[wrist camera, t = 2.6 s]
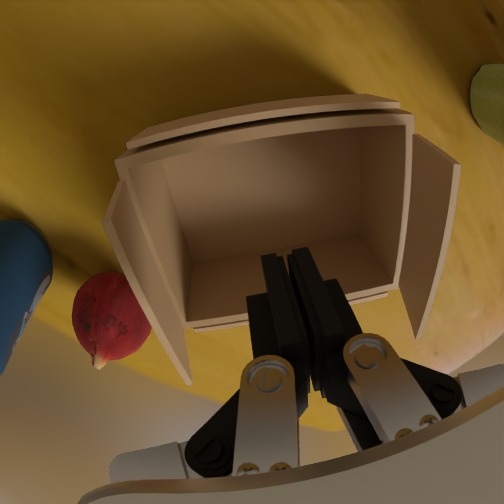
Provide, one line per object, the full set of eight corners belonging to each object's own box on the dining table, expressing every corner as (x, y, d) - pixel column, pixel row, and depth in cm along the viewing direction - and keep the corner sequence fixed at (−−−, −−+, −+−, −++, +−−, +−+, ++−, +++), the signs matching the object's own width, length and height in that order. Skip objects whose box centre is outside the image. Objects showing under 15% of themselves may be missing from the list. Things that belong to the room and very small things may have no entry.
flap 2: (415, 339, 12) (420, 338, 12) (454, 164, 8) (460, 164, 8) (398, 284, 15) (402, 284, 15) (412, 133, 11) (418, 133, 11)
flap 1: (111, 219, 8) (101, 222, 8) (193, 384, 12) (187, 385, 12) (124, 179, 11) (118, 181, 11) (182, 324, 16) (177, 326, 16)
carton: (360, 90, 15) (414, 102, 10) (363, 242, 22) (397, 294, 17) (145, 123, 16) (110, 148, 11) (191, 273, 22) (183, 335, 17)
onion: (79, 258, 20) (36, 335, 14) (143, 243, 20) (111, 328, 14) (110, 312, 24) (85, 390, 17) (170, 303, 23) (156, 388, 17)
